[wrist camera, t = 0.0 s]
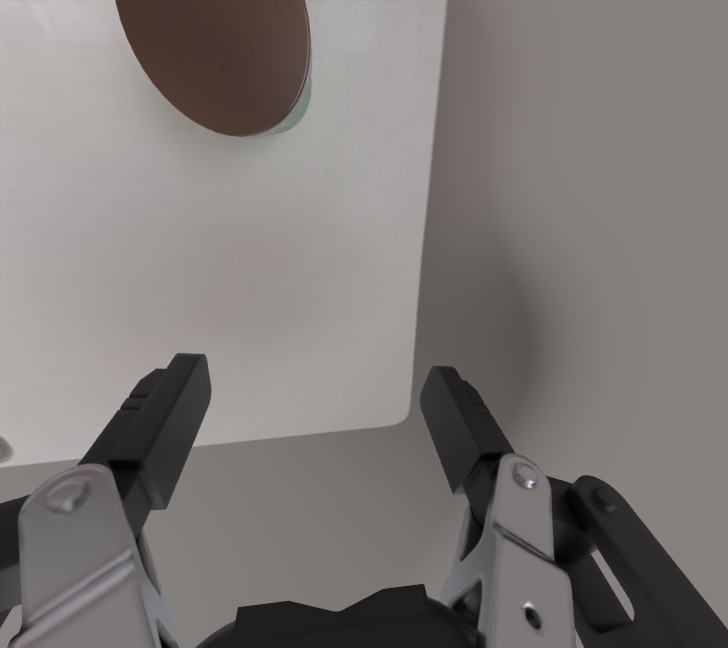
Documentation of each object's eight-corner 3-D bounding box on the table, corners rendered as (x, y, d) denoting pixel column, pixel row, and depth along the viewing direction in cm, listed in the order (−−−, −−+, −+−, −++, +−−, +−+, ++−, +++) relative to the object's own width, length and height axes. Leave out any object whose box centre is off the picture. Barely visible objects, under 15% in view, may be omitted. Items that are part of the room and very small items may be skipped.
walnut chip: (188, -136, 9) (149, -218, 7) (340, 35, 12) (344, 13, 9) (129, 59, 11) (86, 42, 9) (268, 166, 14) (259, 171, 12)
